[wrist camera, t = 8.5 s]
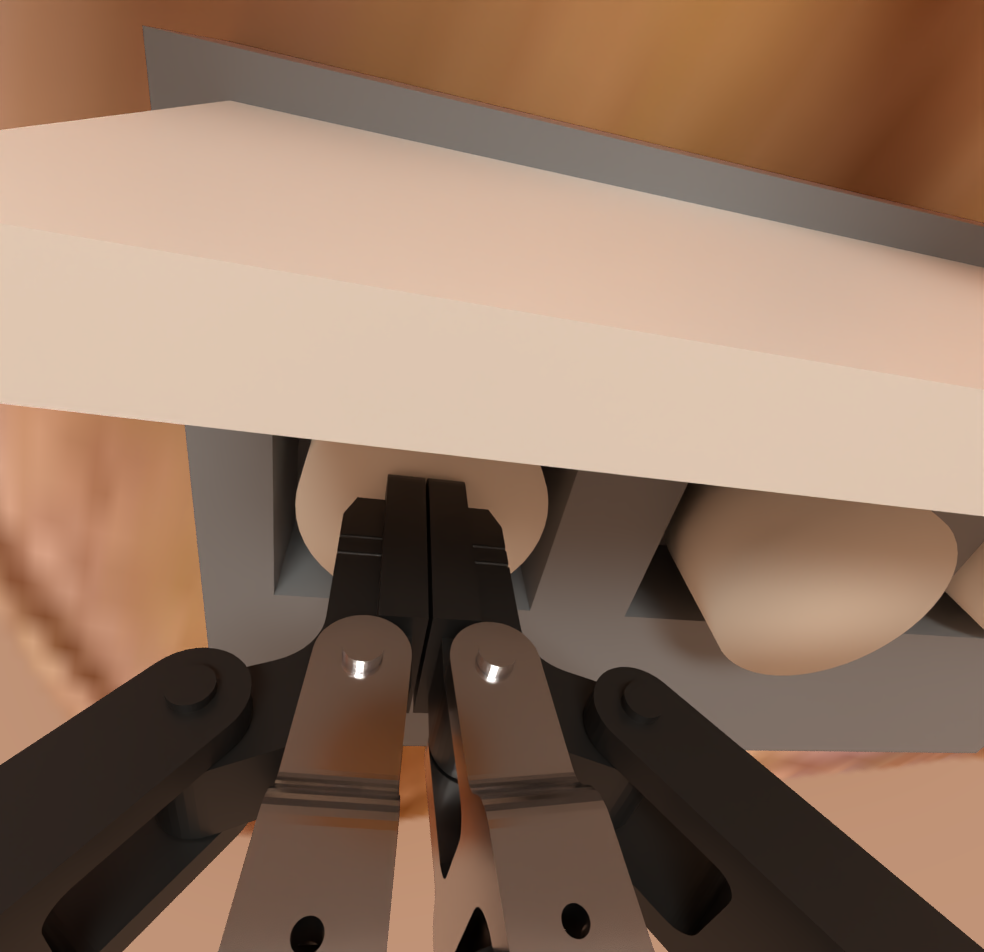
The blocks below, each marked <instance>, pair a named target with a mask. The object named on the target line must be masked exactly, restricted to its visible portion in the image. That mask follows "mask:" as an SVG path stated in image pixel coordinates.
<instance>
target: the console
mask: <svg viewBox="0 0 984 952" xmlns="http://www.w3.org/2000/svg"><path fill="white" fill-rule="evenodd" d="M142 27H143V36H144V45H145V55H146V64H147V74H148V83H149V93H150V102H151V111H144V112H136V113H128V114H121V115H113V116H105V117H97V118H90V119H82V120H74V121H66V122H58V123H51V124H43V125H35V126H27V127H20V128H12V129H4V130H0V404H9V405H18V406H26V407H35V408H44V409H53V410H61V411H70V412H79V413H88V414H96V415H105V416H114V417H122V418H131V419H140V420H149V421H157V422H166V423H175V424H183V425H185V431H186V441H187V450H188V460H189V469H190V478H191V488H192V497H193V507H194V516H195V525H196V535H197V544H198V554H199V563H200V572H201V582H202V591H203V601H204V610H205V620H206V629H207V638H208V648H216V649H220V650H224V651H227V652H229V653H232V654H233V655H235V656H236V657H238V658H239V659H240V660H241V661H242V662H243V663H244V664H245V665H246V667H248V666H252V665H256V664H260V663H265V662H269V661H273V660H277V659H281V658H284V657H287V656H289V655H292V654H294V653H296V652H298V651H299V650H301V649H303V648H304V647H305V646H307V645H308V644H309V643H311V642H312V641H313V640H314V639H315V638H316V636H317V635H318V634H319V632H320V631H321V629H322V627H323V625H324V623H325V619H326V614H327V608H328V602H329V596H330V590H331V584H332V578H333V575H331V574H330V573H329V572H328V571H327V570H326V569H325V568H323V567H322V566H321V565H320V564H319V562H318V561H317V560H316V559H315V558H314V557H313V555H312V554H311V553H310V551H309V549H308V548H307V546H306V544H305V543H304V540H303V538H302V536H301V533H300V531H299V527H298V523H297V519H296V508H295V502H296V492H297V488H298V484H299V481H300V477H301V474H302V471H303V467H304V464H305V460H306V457H307V454H308V450H309V447H310V443H311V440H312V439H314V440H323V441H332V442H340V443H349V444H358V445H367V446H375V447H384V448H393V449H401V450H410V451H419V452H428V453H436V454H445V455H454V456H462V457H471V458H480V459H489V460H497V461H506V462H515V463H523V464H532V465H540V466H541V469H542V472H543V475H544V479H545V483H546V487H547V492H548V514H547V519H546V523H545V527H544V530H543V532H542V535H541V537H540V539H539V541H538V543H537V545H536V546H535V548H534V550H533V551H532V552H531V554H530V555H529V556H528V557H527V559H526V560H525V561H524V562H523V563H522V564H521V565H520V566H519V567H518V568H517V569H516V570H515V571H513V572H512V573H511V579H512V584H513V589H514V595H515V600H516V605H517V611H518V616H519V621H520V626H521V630H522V634H524V635H525V636H526V637H527V638H528V639H529V640H530V641H531V642H532V644H533V645H534V646H535V648H536V650H537V652H538V654H539V657H541V658H542V659H543V660H545V661H546V662H548V663H549V664H551V665H553V666H555V667H556V668H559V669H561V670H564V671H567V672H570V673H573V674H576V675H579V676H582V677H585V678H588V679H591V680H594V681H597V680H598V678H599V677H600V676H601V675H602V674H603V673H604V672H606V671H607V670H610V669H612V668H617V667H632V668H637V669H640V670H643V671H645V672H648V673H650V674H652V675H653V676H655V677H657V678H658V679H660V680H661V681H662V682H664V683H665V684H666V685H667V686H668V687H670V688H671V689H672V690H673V691H674V692H676V693H677V694H678V695H679V696H680V697H682V698H683V699H684V700H685V701H686V702H688V703H689V704H690V705H691V706H692V707H694V708H695V709H696V710H697V711H698V712H700V713H701V714H702V715H703V716H704V717H706V718H707V719H708V720H709V721H710V722H712V723H713V724H714V725H715V726H716V727H718V728H719V729H720V730H721V731H722V732H724V733H725V734H726V735H727V736H728V737H730V738H731V739H732V740H733V741H734V742H736V743H737V744H738V745H739V746H740V747H742V748H743V749H744V750H769V751H849V752H928V753H977V752H978V751H979V750H980V749H982V748H983V747H984V629H983V628H982V627H981V626H980V625H979V624H978V623H977V622H976V621H975V620H974V619H973V618H972V617H971V616H970V615H969V614H968V613H967V612H966V611H964V610H963V609H962V608H961V607H960V606H959V605H958V604H957V603H956V602H955V601H954V600H953V599H952V598H951V597H950V596H949V595H948V594H947V593H946V592H945V591H944V593H943V594H942V596H941V597H940V599H939V600H938V601H937V602H936V603H935V605H934V606H933V607H932V608H931V609H930V610H929V611H928V612H927V613H926V614H925V615H924V616H923V617H922V618H921V619H920V620H919V621H918V622H917V623H916V624H914V625H913V626H912V627H911V628H910V629H908V630H907V631H906V632H904V633H903V634H902V635H900V636H899V637H897V638H896V639H894V640H893V641H891V642H890V643H888V644H886V645H885V646H883V647H881V648H879V649H877V650H876V651H874V652H872V653H870V654H868V655H865V656H863V657H861V658H859V659H856V660H854V661H851V662H849V663H846V664H843V665H840V666H837V667H834V668H831V669H827V670H823V671H819V672H814V673H808V674H801V675H790V676H776V675H765V674H760V673H755V672H752V671H749V670H746V669H743V668H741V667H740V666H738V665H736V664H734V663H733V662H732V661H730V660H729V659H728V658H727V657H726V656H725V655H724V654H723V652H722V651H721V649H720V647H719V645H718V643H717V642H716V640H715V638H714V636H713V634H712V632H711V630H710V628H709V626H708V624H707V623H706V621H705V619H704V617H703V615H702V613H701V611H700V609H699V607H698V605H697V604H696V602H695V600H694V598H693V596H692V594H691V592H690V590H689V588H688V586H687V585H686V583H685V581H684V579H683V577H682V575H681V573H680V571H679V569H678V567H677V566H676V564H675V562H674V560H673V558H672V556H671V554H670V552H669V550H668V547H667V544H666V540H665V530H666V528H667V526H668V524H669V522H670V520H671V518H672V516H673V514H674V512H675V509H676V507H677V505H678V503H679V501H680V499H681V497H682V495H683V493H684V491H685V489H686V486H687V484H688V482H689V483H698V484H707V485H715V486H724V487H733V488H741V489H750V490H759V491H768V492H776V493H785V494H794V495H802V496H811V497H820V498H829V499H837V500H846V501H855V502H863V503H872V504H881V505H890V506H898V507H907V508H916V509H925V510H931V511H932V512H933V513H934V514H936V515H937V516H938V517H939V518H940V519H941V520H942V521H944V522H945V523H946V524H947V525H948V526H949V528H950V529H951V531H952V532H953V534H954V537H955V540H956V542H957V551H958V556H957V564H956V567H955V571H954V574H953V576H954V575H955V574H956V572H957V571H958V570H959V569H960V568H961V567H962V566H963V565H964V563H965V562H966V561H967V560H968V559H969V558H970V557H971V555H972V554H973V553H974V552H975V551H976V550H977V549H978V548H979V546H980V545H981V544H982V543H983V542H984V223H981V222H977V221H973V220H968V219H964V218H960V217H956V216H952V215H948V214H944V213H939V212H935V211H931V210H927V209H923V208H919V207H915V206H910V205H906V204H902V203H898V202H894V201H890V200H885V199H881V198H877V197H873V196H869V195H865V194H861V193H856V192H852V191H848V190H844V189H840V188H836V187H832V186H827V185H823V184H819V183H815V182H811V181H807V180H802V179H798V178H794V177H790V176H786V175H782V174H778V173H773V172H769V171H765V170H761V169H757V168H753V167H749V166H744V165H740V164H736V163H732V162H728V161H724V160H719V159H715V158H711V157H707V156H703V155H699V154H695V153H690V152H686V151H682V150H678V149H674V148H670V147H666V146H661V145H657V144H653V143H649V142H645V141H641V140H636V139H632V138H628V137H624V136H620V135H616V134H612V133H607V132H603V131H599V130H595V129H591V128H587V127H583V126H578V125H574V124H570V123H566V122H562V121H558V120H553V119H549V118H545V117H541V116H537V115H533V114H529V113H524V112H520V111H516V110H512V109H508V108H504V107H500V106H495V105H491V104H487V103H483V102H479V101H475V100H470V99H466V98H462V97H458V96H454V95H450V94H446V93H441V92H437V91H433V90H429V89H425V88H421V87H417V86H412V85H408V84H404V83H400V82H396V81H392V80H387V79H383V78H379V77H375V76H371V75H367V74H363V73H358V72H354V71H350V70H346V69H342V68H338V67H334V66H329V65H325V64H321V63H317V62H313V61H309V60H304V59H300V58H296V57H292V56H288V55H284V54H280V53H275V52H271V51H267V50H263V49H259V48H255V47H251V46H246V45H242V44H238V43H234V42H230V41H225V40H219V39H214V38H208V37H203V36H197V35H192V34H187V33H181V32H176V31H170V30H165V29H159V28H154V27H148V26H143V25H142ZM953 576H952V577H953ZM428 737H429V724H428V713H413V697H412V702H411V707H410V711H409V713H406V720H405V730H404V740H403V746H426V745H427V741H428Z"/></svg>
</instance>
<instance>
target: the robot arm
mask: <svg viewBox="0 0 984 952" xmlns="http://www.w3.org/2000/svg"><path fill="white" fill-rule="evenodd" d="M412 697H413V713H428V724H429V737H428V741H427V745H426V749H425V754H424V765H425V777H426V788H427V799H428V811H429V822H430V832H431V845H432V856H433V867H434V878H435V905H434V917H433V918H434V919H433V947H434V952H654V949H653V946H652V943H651V940H650V937H649V934H648V931H647V928H648V929H649V930H650V932H651V933H652V934H653V935H654V936H655V937H656V938H657V939H658V941H659V942H660V943H661V944H662V945H663V946H664V947H665V948H666V949H667V951H668V952H984V949H983V948H982V947H980V946H979V945H978V944H976V942H974V941H973V940H972V939H971V938H970V937H968V936H967V935H966V934H965V933H963V932H962V931H961V930H960V929H959V928H958V927H956V926H955V925H954V924H953V923H952V922H950V921H949V920H948V919H947V918H946V917H944V916H943V915H942V914H941V913H940V912H938V911H937V910H936V909H935V908H934V907H932V906H931V905H930V904H929V903H928V902H926V901H925V900H924V899H923V898H922V897H920V896H919V895H918V894H917V893H916V892H914V891H913V890H912V889H911V888H910V887H908V886H907V885H906V884H905V883H904V882H902V881H901V880H900V879H899V878H898V877H896V876H895V875H894V874H893V873H892V872H890V871H889V870H888V869H887V868H886V867H884V866H883V865H882V864H881V863H880V862H878V861H877V860H876V859H875V858H873V857H872V856H871V855H870V854H869V853H867V852H866V851H865V850H864V849H863V848H862V847H860V846H859V845H858V844H857V843H856V842H854V841H853V840H852V839H851V838H850V837H848V836H847V835H846V834H845V833H844V832H842V831H841V830H840V829H839V828H838V827H836V826H835V825H834V824H832V822H830V821H829V820H828V819H827V818H826V817H824V816H823V815H822V814H821V813H820V812H818V811H817V810H816V809H815V808H814V807H812V806H811V805H810V804H809V803H807V802H806V801H805V800H804V799H803V798H802V797H800V796H799V795H798V794H797V793H795V792H794V791H793V790H792V789H791V788H790V787H788V786H787V785H786V784H785V783H784V782H782V781H781V780H780V779H779V778H778V777H776V776H775V775H774V774H773V773H772V772H770V771H769V770H768V769H767V768H766V767H764V766H763V765H762V764H761V763H760V762H758V761H757V760H756V759H755V758H754V757H752V756H751V755H750V754H749V753H748V752H746V751H745V750H744V749H743V748H742V747H740V746H739V745H738V744H737V743H736V742H734V741H733V740H732V739H731V738H730V737H728V736H727V735H726V734H725V733H724V732H722V731H721V730H720V729H719V728H718V727H716V726H715V725H714V724H713V723H712V722H710V721H709V720H708V719H707V718H706V717H704V716H703V715H702V714H701V713H700V712H698V711H697V710H696V709H695V708H694V707H692V706H691V705H690V704H689V703H688V702H686V701H685V700H684V699H683V698H682V697H680V696H679V695H678V694H677V693H676V692H674V691H673V690H672V689H671V688H670V687H668V686H667V685H666V684H665V683H664V682H662V681H661V680H660V679H658V678H657V677H655V676H653V675H652V674H650V673H648V672H645V671H643V670H640V669H637V668H632V667H617V668H612V669H610V670H607V671H606V672H604V673H603V674H602V675H601V676H600V677H599V678H598V680H597V681H594V680H591V679H588V678H585V677H582V676H579V675H576V674H573V673H570V672H567V671H564V670H561V669H559V668H556V667H555V666H553V665H551V664H549V663H548V662H546V661H545V660H543V659H542V658H541V657H539V654H538V652H537V650H536V648H535V646H534V645H533V644H532V642H531V641H530V640H529V639H528V638H527V637H526V636H525V635H524V634H522V630H521V626H520V621H519V616H518V611H517V605H516V600H515V595H514V589H513V584H512V579H511V574H510V568H509V567H508V558H507V552H506V551H505V542H504V537H503V531H502V527H501V526H500V524H499V523H498V522H497V520H496V519H495V518H494V516H493V515H492V514H491V512H490V511H489V510H488V509H478V508H468V502H467V494H466V486H465V482H461V481H451V480H442V479H432V478H428V479H427V482H426V480H425V478H421V477H412V476H402V475H393V474H388V477H387V485H386V493H385V500H382V499H372V498H361V497H357V498H356V500H355V501H354V502H353V503H352V504H351V505H350V506H349V507H348V509H347V510H346V511H345V512H344V513H343V518H342V524H341V530H340V537H339V542H338V548H337V554H336V560H335V566H334V572H333V578H332V584H331V590H330V596H329V602H328V608H327V614H326V619H325V623H324V625H323V627H322V629H321V631H320V632H319V634H318V635H317V636H316V638H315V639H314V640H313V641H312V642H311V643H309V644H308V645H307V646H305V647H304V648H303V649H301V650H299V651H298V652H296V653H294V654H292V655H289V656H287V657H284V658H281V659H277V660H273V661H269V662H265V663H260V664H256V665H252V666H248V667H246V665H245V664H244V663H243V662H242V661H241V660H240V659H239V658H238V657H236V656H235V655H233V654H232V653H229V652H227V651H224V650H220V649H216V648H194V649H188V650H184V651H181V652H177V653H174V654H172V655H170V656H167V657H165V658H164V659H162V660H160V661H158V662H157V663H155V664H154V665H152V666H150V667H149V668H147V669H146V670H144V671H143V672H141V673H140V674H138V675H137V676H135V677H134V678H132V679H131V680H129V681H128V682H126V683H125V684H123V685H122V686H120V687H118V688H117V689H115V690H114V691H112V692H111V693H109V694H108V695H106V696H105V697H103V698H102V699H100V700H99V701H97V702H96V703H94V704H93V705H91V706H90V707H88V708H87V709H85V710H83V711H82V712H80V713H79V714H77V715H76V716H74V717H73V718H71V719H70V720H68V721H67V722H65V723H64V724H62V725H61V726H59V727H58V728H56V729H55V730H53V731H51V732H50V733H49V734H47V735H45V736H44V737H43V738H41V739H39V740H38V741H36V742H35V743H33V744H32V745H30V746H29V747H27V748H26V749H24V750H23V751H21V752H20V753H18V754H16V755H15V756H13V757H12V758H10V759H9V760H7V761H6V762H4V763H3V764H1V765H0V952H122V951H123V950H124V949H125V948H126V947H127V946H128V945H129V944H130V943H131V942H132V941H133V940H134V939H135V938H136V937H137V936H138V935H139V934H140V933H141V932H142V931H143V930H144V929H145V928H146V927H147V926H148V925H149V924H150V923H151V922H152V921H153V920H154V919H155V918H156V917H157V916H158V915H159V914H160V913H161V912H162V911H163V910H164V909H165V908H166V907H167V906H168V905H169V904H170V903H171V902H172V901H173V900H174V899H175V898H176V897H177V896H178V895H179V894H180V893H181V892H182V891H183V890H184V889H185V888H186V887H187V886H188V885H189V884H190V883H191V882H192V881H193V880H194V879H195V878H196V877H197V876H198V875H199V874H200V873H201V872H202V871H203V870H204V869H205V868H206V867H207V866H208V864H210V863H211V862H212V861H213V860H214V859H215V858H216V857H217V856H218V855H219V854H220V852H222V851H223V850H224V848H226V847H227V845H228V844H229V843H230V842H231V841H232V840H233V839H234V838H235V837H236V836H237V835H238V834H239V833H240V832H241V831H242V830H243V829H244V827H245V826H246V824H247V823H248V822H251V821H254V820H256V823H255V826H254V830H253V833H252V837H251V840H250V844H249V847H248V851H247V854H246V858H245V861H244V864H243V868H242V871H241V875H240V879H239V882H238V885H237V889H236V892H235V896H234V899H233V902H232V907H231V909H230V913H229V916H228V920H227V923H226V927H225V931H224V934H223V937H222V941H221V944H220V947H219V951H218V952H386V951H387V941H388V930H389V920H390V909H391V899H392V888H393V877H394V867H395V857H396V846H397V835H398V825H399V812H400V795H399V780H400V770H401V760H402V750H403V740H404V730H405V720H406V713H409V711H410V707H411V702H412ZM646 927H647V928H646ZM564 929H565V930H564Z"/></svg>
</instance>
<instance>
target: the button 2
mask: <svg viewBox="0 0 984 952" xmlns="http://www.w3.org/2000/svg"><path fill="white" fill-rule="evenodd" d="M945 592H946V593H947V594H948V595H949V596H950V597H951V598H952V599H953V600H954V601H955V602H956V603H957V604H958V605H959V606H960V607H961V608H962V609H963V610H964V611H966V612H967V613H968V614H969V615H970V616H971V617H972V618H973V619H974V620H975V621H976V622H977V623H978V624H979V625H980V626H981V627H982V628H983V629H984V542H983V543H982V544H981V545H980V546H979V548H978V549H977V550H976V551H975V552H974V553H973V554H972V555H971V557H970V558H969V559H968V560H967V561H966V562H965V563H964V565H963V566H962V567H961V568H960V569H959V570H958V571H957V572H956V574H955V575H954V576H953V577H952V578H951V581H950V583H949V585H948V587H947V588H946V590H945Z"/></svg>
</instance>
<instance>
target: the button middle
mask: <svg viewBox="0 0 984 952" xmlns="http://www.w3.org/2000/svg"><path fill="white" fill-rule="evenodd" d="M665 540H666V544H667V547H668V550H669V552H670V554H671V556H672V558H673V560H674V562H675V564H676V566H677V567H678V569H679V571H680V573H681V575H682V577H683V579H684V581H685V583H686V585H687V586H688V588H689V590H690V592H691V594H692V596H693V598H694V600H695V602H696V604H697V605H698V607H699V609H700V611H701V613H702V615H703V617H704V619H705V621H706V623H707V624H708V626H709V628H710V630H711V632H712V634H713V636H714V638H715V640H716V642H717V643H718V645H719V647H720V649H721V651H722V652H723V654H724V655H725V656H726V657H727V658H728V659H729V660H730V661H732V662H733V663H734V664H736V665H738V666H740V667H741V668H743V669H746V670H749V671H752V672H755V673H760V674H765V675H776V676H790V675H801V674H808V673H814V672H819V671H823V670H827V669H831V668H834V667H837V666H840V665H843V664H846V663H849V662H851V661H854V660H856V659H859V658H861V657H863V656H865V655H868V654H870V653H872V652H874V651H876V650H877V649H879V648H881V647H883V646H885V645H886V644H888V643H890V642H891V641H893V640H894V639H896V638H897V637H899V636H900V635H902V634H903V633H904V632H906V631H907V630H908V629H910V628H911V627H912V626H913V625H914V624H916V623H917V622H918V621H919V620H920V619H921V618H922V617H923V616H924V615H925V614H926V613H927V612H928V611H929V610H930V609H931V608H932V607H933V606H934V605H935V603H936V602H937V601H938V600H939V599H940V597H941V596H942V594H943V593H944V591H945V590H946V588H947V587H948V585H949V583H950V581H951V578H952V576H953V574H954V571H955V567H956V564H957V556H958V551H957V542H956V540H955V537H954V534H953V532H952V531H951V529H950V528H949V526H948V525H947V524H946V523H945V522H944V521H942V520H941V519H940V518H939V517H938V516H937V515H936V514H934V513H933V512H932V511H931V510H925V509H916V508H907V507H898V506H890V505H881V504H872V503H863V502H855V501H846V500H837V499H829V498H820V497H811V496H802V495H794V494H785V493H776V492H768V491H759V490H750V489H741V488H733V487H724V486H715V485H707V484H698V483H689V482H688V484H687V486H686V489H685V491H684V493H683V495H682V497H681V499H680V501H679V503H678V505H677V507H676V509H675V512H674V514H673V516H672V518H671V520H670V522H669V524H668V526H667V528H666V530H665Z"/></svg>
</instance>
